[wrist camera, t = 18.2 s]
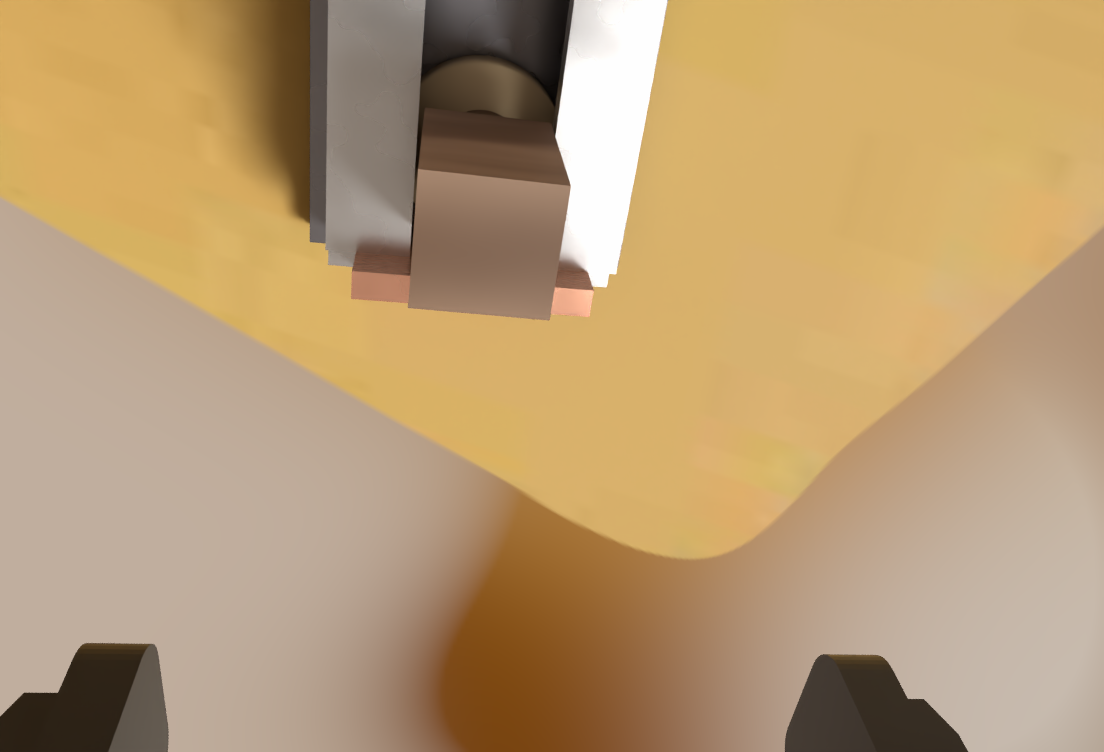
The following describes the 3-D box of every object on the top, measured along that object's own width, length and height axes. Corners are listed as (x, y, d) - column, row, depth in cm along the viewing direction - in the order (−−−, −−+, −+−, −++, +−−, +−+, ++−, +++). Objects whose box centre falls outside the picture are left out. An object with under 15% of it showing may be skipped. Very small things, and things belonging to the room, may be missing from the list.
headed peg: (401, 44, 31) (380, 125, 23) (572, 66, 32) (614, 153, 24) (391, 209, 34) (370, 336, 26) (548, 225, 35) (578, 353, 27)
